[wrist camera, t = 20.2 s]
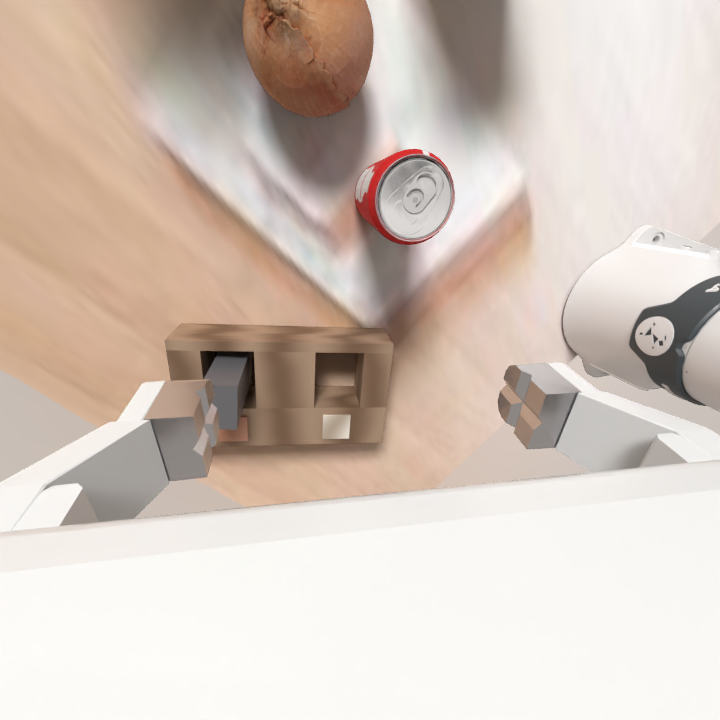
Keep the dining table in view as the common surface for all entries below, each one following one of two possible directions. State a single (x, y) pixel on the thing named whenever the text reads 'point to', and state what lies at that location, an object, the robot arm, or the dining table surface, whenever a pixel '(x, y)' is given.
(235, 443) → the socket dock
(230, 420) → the plug
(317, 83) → the onion
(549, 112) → the dining table surface
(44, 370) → the dining table surface
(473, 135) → the dining table surface
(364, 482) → the dining table surface
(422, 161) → the beverage can
